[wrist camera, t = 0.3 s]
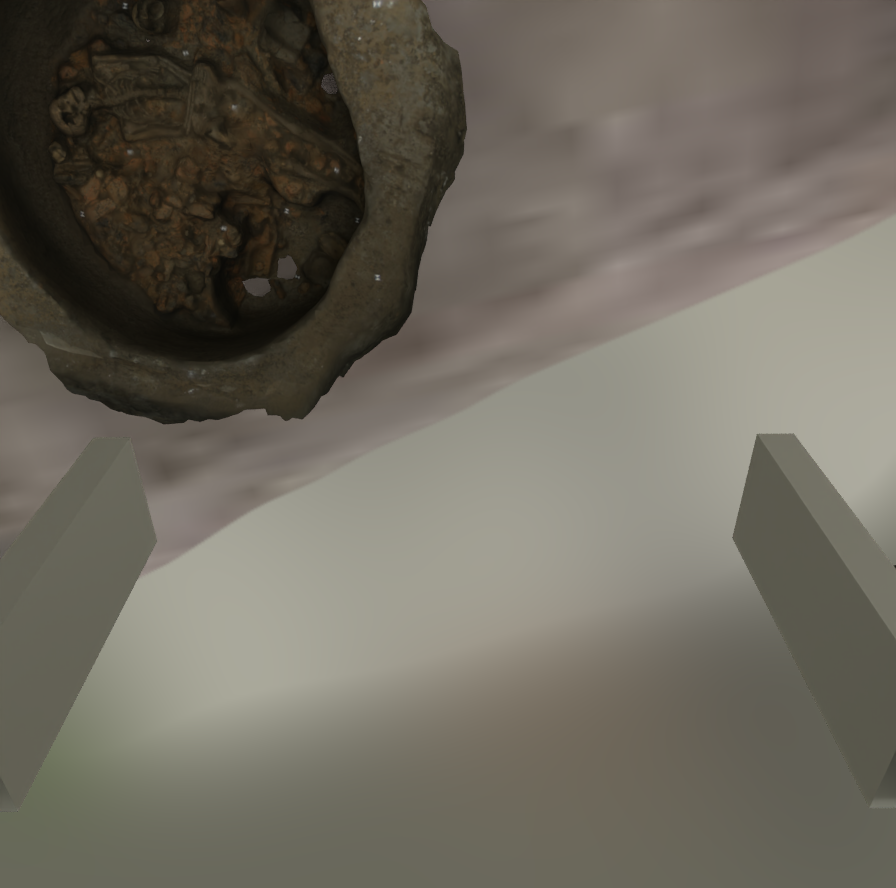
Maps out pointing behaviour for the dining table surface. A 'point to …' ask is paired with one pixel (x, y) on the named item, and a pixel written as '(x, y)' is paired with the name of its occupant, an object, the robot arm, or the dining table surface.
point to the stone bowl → (218, 192)
